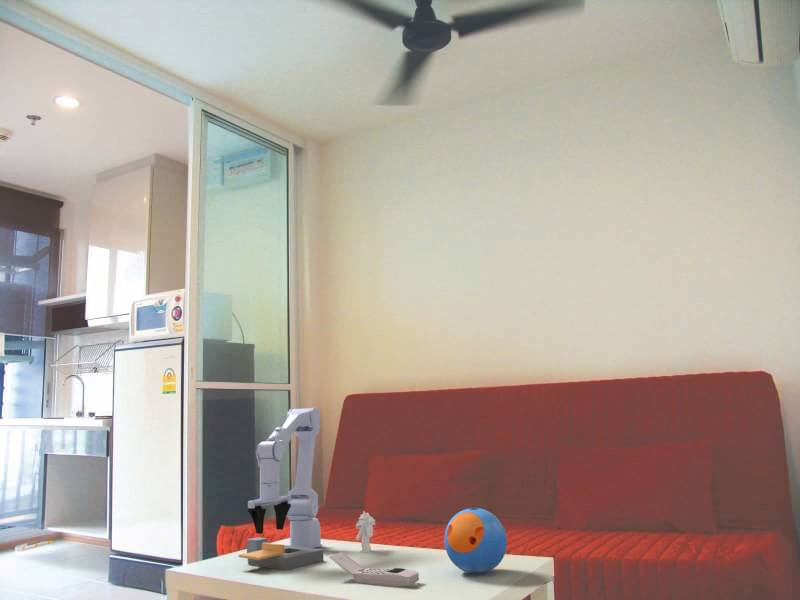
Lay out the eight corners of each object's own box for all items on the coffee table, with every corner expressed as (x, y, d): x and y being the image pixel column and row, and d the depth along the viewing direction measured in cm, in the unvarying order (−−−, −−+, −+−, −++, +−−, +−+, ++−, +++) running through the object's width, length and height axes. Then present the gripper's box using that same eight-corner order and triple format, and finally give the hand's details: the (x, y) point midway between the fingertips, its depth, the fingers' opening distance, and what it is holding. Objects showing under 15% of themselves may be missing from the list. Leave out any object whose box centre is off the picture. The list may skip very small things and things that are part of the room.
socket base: (285, 555, 191) (285, 545, 192) (323, 560, 182) (323, 549, 182) (247, 564, 181) (248, 553, 181) (285, 570, 171) (285, 558, 172)
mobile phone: (341, 551, 163) (426, 557, 151) (342, 576, 162) (428, 583, 150) (326, 556, 158) (414, 562, 146) (327, 581, 157) (415, 590, 145)
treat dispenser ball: (518, 569, 161) (513, 505, 164) (492, 582, 148) (488, 513, 151) (463, 564, 169) (460, 504, 172) (434, 577, 156) (431, 511, 159)
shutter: (264, 551, 181) (264, 542, 182) (284, 554, 176) (284, 544, 177) (238, 557, 174) (238, 547, 175) (258, 559, 169) (258, 550, 170)
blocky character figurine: (363, 553, 189) (362, 511, 192) (352, 553, 191) (351, 511, 193) (378, 548, 197) (377, 507, 200) (367, 547, 199) (366, 507, 201)
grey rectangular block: (257, 555, 193) (257, 537, 194) (267, 557, 191) (267, 538, 192) (246, 558, 190) (246, 539, 191) (256, 559, 188) (256, 540, 189)
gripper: (259, 485, 180) (259, 536, 177) (297, 480, 191) (297, 528, 188) (243, 484, 184) (242, 534, 181) (281, 480, 195) (281, 527, 193)
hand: (269, 531), depth 185 cm, fingers open, 7 cm apart
